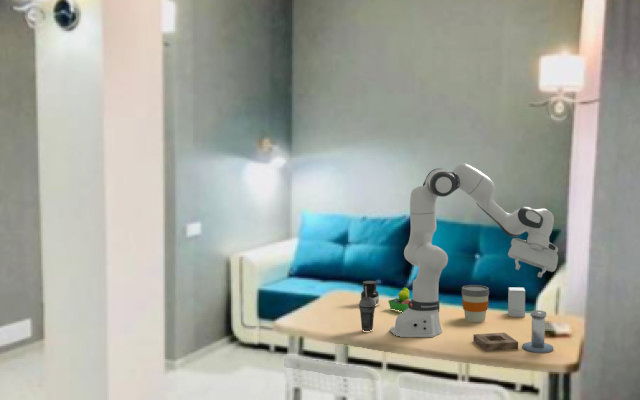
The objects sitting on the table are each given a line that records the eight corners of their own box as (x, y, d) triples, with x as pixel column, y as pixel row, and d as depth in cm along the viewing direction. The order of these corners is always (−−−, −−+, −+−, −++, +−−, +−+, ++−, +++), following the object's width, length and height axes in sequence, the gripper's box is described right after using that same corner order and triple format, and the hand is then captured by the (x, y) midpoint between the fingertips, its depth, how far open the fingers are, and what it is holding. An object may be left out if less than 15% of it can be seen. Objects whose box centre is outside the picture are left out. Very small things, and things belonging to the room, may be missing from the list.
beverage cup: (363, 334, 307) (363, 289, 305) (356, 330, 314) (355, 286, 312) (378, 332, 310) (378, 287, 308) (370, 328, 317) (370, 284, 315)
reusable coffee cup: (479, 315, 336) (480, 284, 335) (494, 321, 325) (494, 289, 323) (456, 317, 333) (456, 286, 331) (470, 324, 321) (470, 291, 319)
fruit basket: (387, 310, 347) (387, 288, 346) (399, 307, 353) (399, 285, 352) (405, 314, 339) (405, 291, 338) (416, 311, 345) (416, 288, 344)
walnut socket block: (485, 351, 282) (485, 344, 281) (473, 341, 295) (473, 334, 295) (518, 349, 284) (518, 342, 283) (504, 339, 297) (504, 332, 297)
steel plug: (534, 349, 281) (534, 314, 280) (527, 344, 287) (528, 310, 286) (548, 348, 282) (548, 313, 281) (541, 343, 288) (542, 310, 286)
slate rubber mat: (530, 353, 278) (530, 351, 278) (517, 344, 290) (517, 342, 290) (558, 351, 279) (558, 350, 279) (544, 343, 291) (544, 341, 291)
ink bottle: (373, 308, 352) (373, 284, 350) (357, 306, 356) (357, 283, 355) (382, 304, 360) (381, 281, 359) (366, 302, 364) (366, 279, 363)
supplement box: (525, 317, 331) (525, 290, 330) (508, 316, 333) (509, 290, 332) (523, 313, 338) (524, 287, 337) (507, 312, 340) (508, 286, 339)
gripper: (514, 233, 301) (505, 261, 295) (562, 249, 297) (554, 278, 291) (511, 239, 306) (502, 267, 301) (558, 255, 303) (550, 283, 297)
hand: (528, 272), depth 296 cm, fingers open, 8 cm apart
